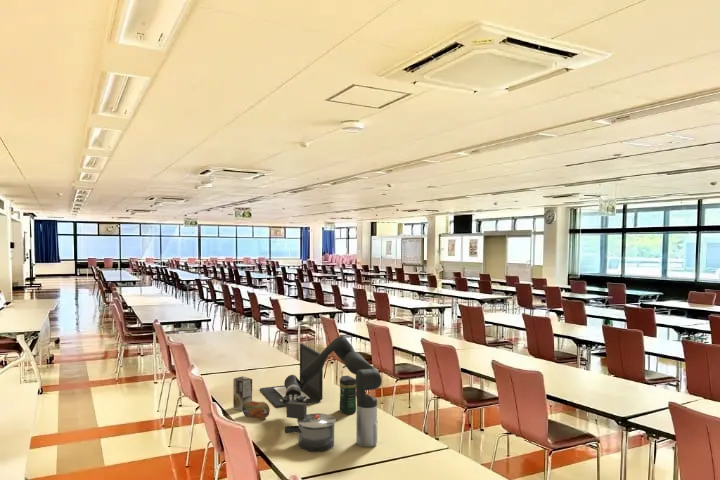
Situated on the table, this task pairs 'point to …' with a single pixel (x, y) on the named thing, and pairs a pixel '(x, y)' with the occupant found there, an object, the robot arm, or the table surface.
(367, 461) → the table surface
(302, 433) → the cooking pot
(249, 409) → the tin
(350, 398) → the coffee jar
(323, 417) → the lid
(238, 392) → the coffee box
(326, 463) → the table surface
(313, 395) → the laptop
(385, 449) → the table surface
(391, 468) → the table surface
